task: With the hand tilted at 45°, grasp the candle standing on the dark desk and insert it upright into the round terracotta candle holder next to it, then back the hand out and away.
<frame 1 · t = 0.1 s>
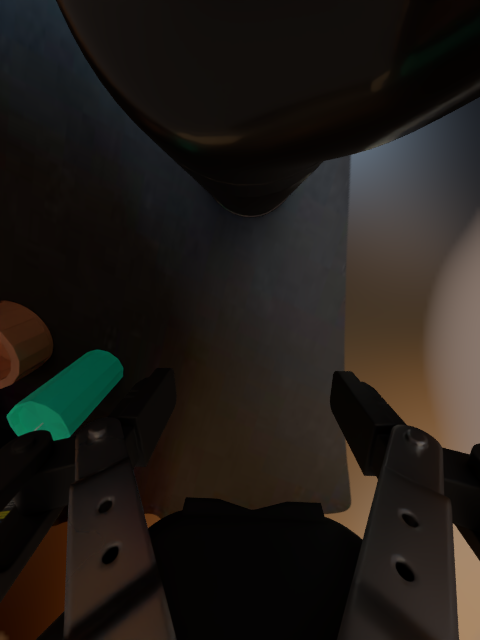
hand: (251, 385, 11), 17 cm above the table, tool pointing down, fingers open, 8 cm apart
candle: (103, 367, 32), on the table
holder: (16, 335, 31), on the table
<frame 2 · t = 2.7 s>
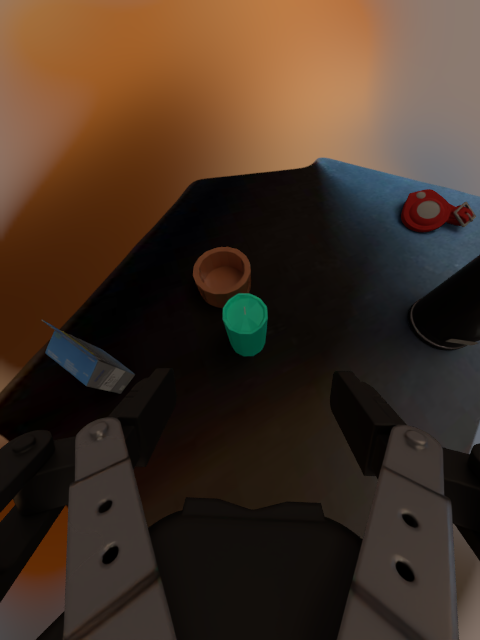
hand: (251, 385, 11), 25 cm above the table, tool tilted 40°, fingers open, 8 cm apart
tape cartridge: (111, 370, 38), on the table
tracker holder: (427, 221, 47), on the table
candle: (247, 340, 39), on the table
holder: (225, 285, 44), on the table
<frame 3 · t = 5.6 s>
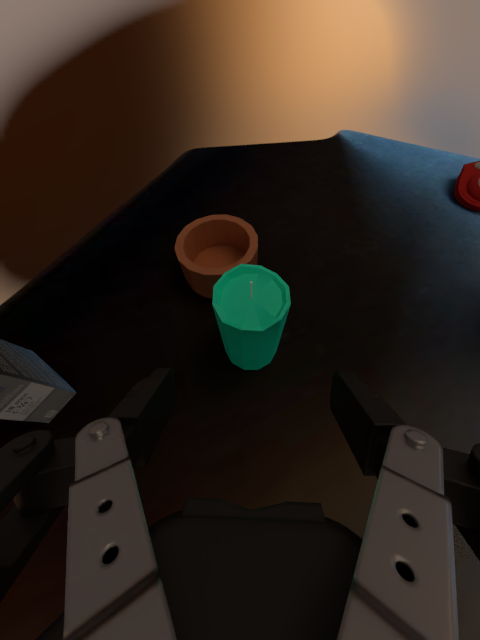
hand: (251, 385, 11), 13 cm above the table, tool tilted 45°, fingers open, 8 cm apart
tape cartridge: (42, 384, 25), on the table
candle: (250, 345, 26), on the table
holder: (221, 269, 32), on the table
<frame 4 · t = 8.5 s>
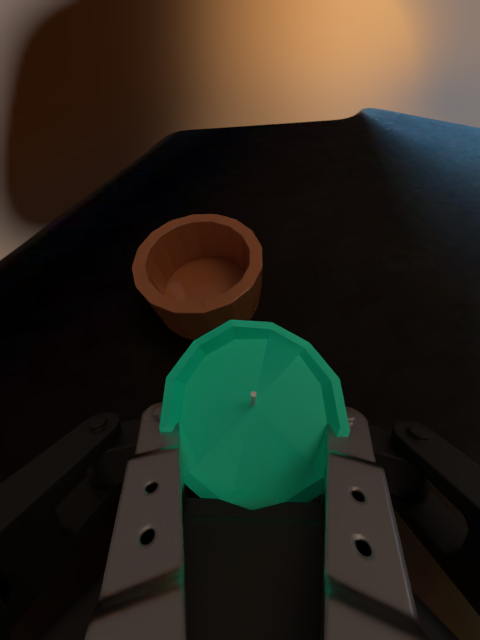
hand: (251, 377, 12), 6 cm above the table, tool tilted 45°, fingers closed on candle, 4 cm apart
candle: (251, 422, 17), on the table, touching gripper
holder: (208, 293, 22), on the table
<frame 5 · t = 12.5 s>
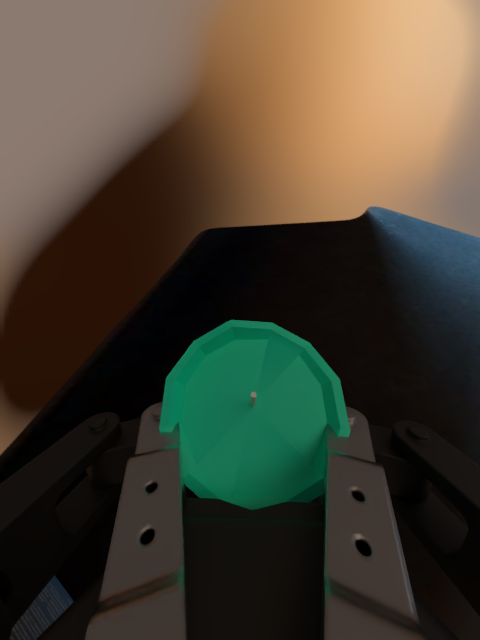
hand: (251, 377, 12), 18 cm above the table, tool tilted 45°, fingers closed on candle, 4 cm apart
tape cartridge: (41, 595, 21), on the table
candle: (251, 422, 17), point 12 cm above the table, touching gripper
when the fingers open (7 cm above the table, at t = 16.4 s): candle stays where it is, resting on holder.
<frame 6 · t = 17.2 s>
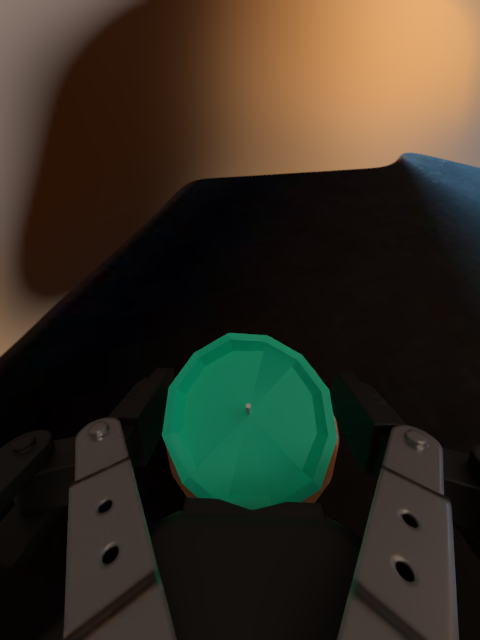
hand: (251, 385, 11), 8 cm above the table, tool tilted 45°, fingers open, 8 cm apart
candle: (249, 426, 17), resting on holder
holder: (250, 423, 18), on the table
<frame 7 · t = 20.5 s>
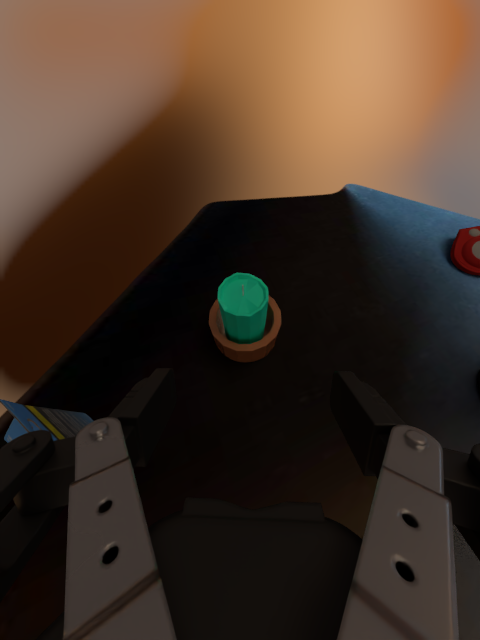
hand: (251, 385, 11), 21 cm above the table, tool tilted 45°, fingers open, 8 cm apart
tape cartridge: (96, 445, 29), on the table
candle: (244, 332, 35), resting on holder
holder: (245, 331, 36), on the table
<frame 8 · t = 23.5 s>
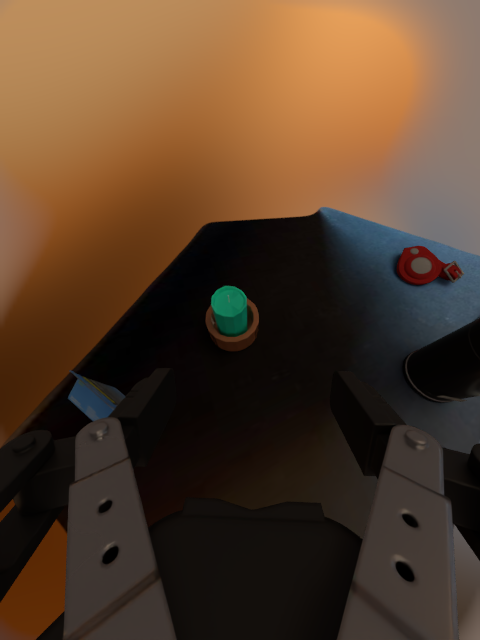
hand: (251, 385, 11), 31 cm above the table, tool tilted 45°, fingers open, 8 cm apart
tape cartridge: (124, 410, 40), on the table
tracker holder: (420, 274, 52), on the table
candle: (233, 328, 46), resting on holder
holder: (233, 328, 47), on the table
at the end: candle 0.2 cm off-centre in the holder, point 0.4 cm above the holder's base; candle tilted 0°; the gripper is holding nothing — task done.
